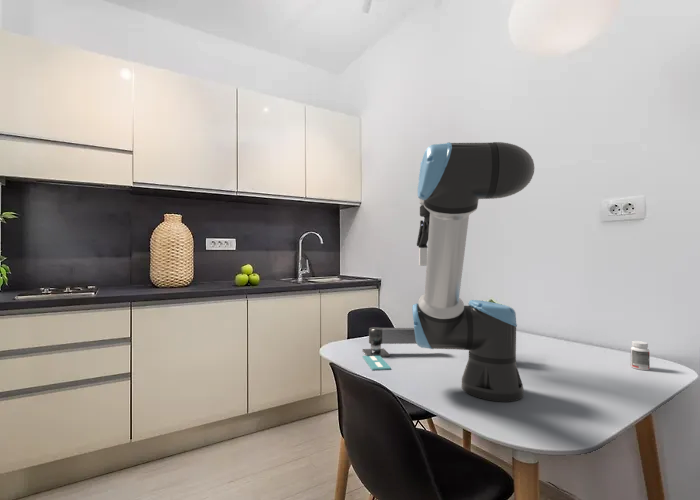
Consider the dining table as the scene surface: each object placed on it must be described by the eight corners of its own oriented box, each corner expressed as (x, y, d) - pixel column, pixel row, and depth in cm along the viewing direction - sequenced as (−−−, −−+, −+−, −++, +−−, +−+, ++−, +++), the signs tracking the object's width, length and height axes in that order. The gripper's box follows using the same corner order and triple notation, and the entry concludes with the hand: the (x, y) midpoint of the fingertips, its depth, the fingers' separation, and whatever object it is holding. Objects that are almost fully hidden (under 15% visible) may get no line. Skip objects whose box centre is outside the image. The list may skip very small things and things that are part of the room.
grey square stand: (389, 356, 125) (389, 345, 126) (367, 357, 124) (367, 346, 124) (383, 350, 133) (383, 340, 133) (362, 351, 132) (362, 340, 132)
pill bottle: (653, 371, 113) (653, 344, 113) (635, 370, 114) (636, 343, 114) (644, 366, 118) (644, 341, 118) (627, 365, 119) (627, 340, 119)
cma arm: (432, 340, 133) (432, 327, 133) (436, 344, 128) (437, 330, 128) (368, 341, 131) (368, 327, 131) (369, 344, 126) (369, 330, 126)
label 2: (390, 369, 112) (391, 367, 112) (372, 370, 111) (372, 368, 111) (384, 362, 118) (384, 360, 118) (367, 363, 117) (367, 361, 117)
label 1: (384, 362, 118) (384, 360, 118) (367, 363, 117) (367, 361, 117) (379, 356, 125) (379, 354, 125) (362, 357, 124) (362, 355, 124)
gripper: (457, 200, 113) (457, 267, 112) (427, 209, 137) (426, 265, 137) (435, 199, 111) (434, 267, 111) (408, 209, 136) (407, 265, 136)
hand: (430, 266), depth 124 cm, fingers open, 13 cm apart
